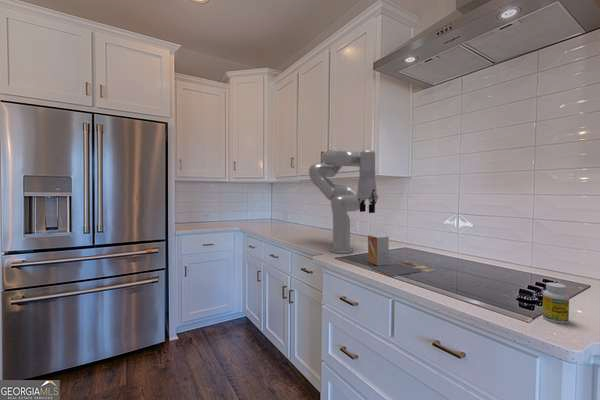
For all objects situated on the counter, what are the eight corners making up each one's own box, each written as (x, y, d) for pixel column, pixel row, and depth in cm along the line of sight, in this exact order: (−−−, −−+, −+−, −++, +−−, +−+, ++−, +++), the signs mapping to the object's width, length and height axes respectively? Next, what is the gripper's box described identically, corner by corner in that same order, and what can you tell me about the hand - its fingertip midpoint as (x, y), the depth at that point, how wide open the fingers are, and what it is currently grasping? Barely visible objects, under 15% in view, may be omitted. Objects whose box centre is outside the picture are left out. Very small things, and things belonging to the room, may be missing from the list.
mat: (369, 267, 130) (369, 267, 130) (397, 264, 136) (397, 263, 136) (390, 276, 117) (390, 276, 117) (421, 271, 124) (421, 271, 124)
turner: (398, 262, 138) (398, 260, 138) (406, 261, 140) (406, 259, 140) (426, 272, 123) (426, 270, 123) (435, 271, 125) (435, 268, 125)
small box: (368, 262, 140) (367, 235, 140) (379, 261, 142) (379, 234, 142) (377, 266, 132) (376, 237, 132) (389, 264, 134) (389, 236, 134)
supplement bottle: (559, 316, 81) (560, 281, 81) (573, 325, 76) (575, 288, 76) (537, 314, 82) (538, 281, 82) (550, 323, 77) (551, 287, 76)
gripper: (351, 176, 150) (350, 211, 151) (371, 175, 134) (371, 214, 135) (363, 176, 153) (363, 210, 154) (385, 175, 137) (384, 213, 138)
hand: (367, 211), depth 144 cm, fingers open, 6 cm apart
